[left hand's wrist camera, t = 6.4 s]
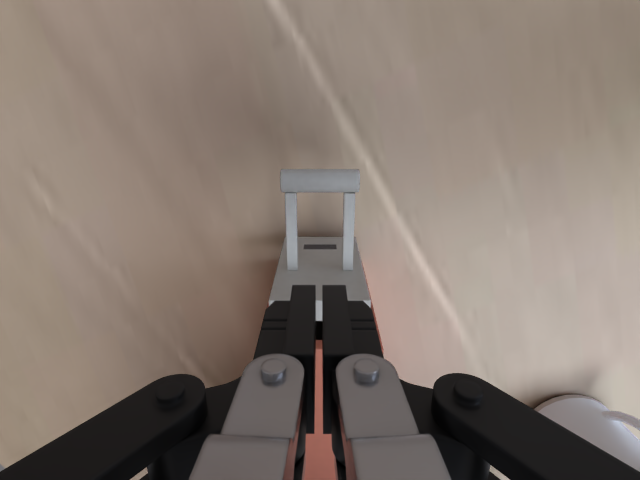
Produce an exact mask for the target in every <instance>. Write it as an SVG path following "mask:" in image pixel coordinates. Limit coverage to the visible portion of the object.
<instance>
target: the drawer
mask: <svg viewBox="0 0 640 480" xmlns="http://www.w3.org/2000/svg"><path fill="white" fill-rule="evenodd" d="M280 188H281V192H285V215H286V237H285V239H284V243H283V246H282V250H281V254H280V258H279V262H278V266H277V270H276V274H275V278H274V282H273V286H272V289H271V293H270V297H269V306H270V305H271V304H272V303H273V302H274V301H290V297H291V290H292V285H316V340H322V285H346V291H347V299H348V301H364V302H365V303H366V304H367V305H368V306H369V307H370V308H371V299H370V295H369V291H368V287H367V282H366V278H365V274H364V270H363V266H362V262H361V257H360V253H359V249H358V245H357V241H356V237H354V216H355V192H359V188H360V172H359V169H281V172H280ZM297 192H344V196H343V237H297Z"/></svg>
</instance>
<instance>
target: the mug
mask: <svg viewBox="0 0 640 480" xmlns="http://www.w3.org/2000/svg"><path fill="white" fill-rule="evenodd" d="M534 410H535V411H537V412H539V413H541V414H542V415H544V416H546V417H547V418H549V419H551V420H552V421H554V422H556V423H558V424H559V425H561V426H563V427H564V428H566V429H568V430H569V431H571V432H573V433H575V434H576V435H578V436H580V437H581V438H583V439H585V440H586V441H588V442H590V443H592V444H593V445H595V446H597V447H598V448H600V449H602V450H603V451H605V452H607V453H609V454H610V455H612V456H614V457H615V458H617V459H619V460H620V461H622V462H624V463H626V464H627V465H629V466H631V467H632V468H634V469H636V470H638V471H639V472H640V440H639V439H638V438H637V437H636V436H635V435H634V434H633V433H632V432H631V431H630V430H629V429H628V428H627V427H626V426H625V425H624V424H623V423H622V422H624V423H626V424H629V425H631V426H633V427H635V428H636V429H638V430H640V420H639V419H638V418H636V417H634V416H631V415H628V414H625V413H622V412H619V411H610V410H609V409H608V408H607V407H606V406H604V405H603V404H602V403H601V402H600V401H598V400H595V399H593V398H591V397H588V396H583V395H577V394H576V395H563V396H559V397H555V398H552V399H550V400H548V401H545V402H543V403H542V404H540V405H539V406H537V407H536V408H535V409H534Z"/></svg>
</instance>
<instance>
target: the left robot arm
mask: <svg viewBox="0 0 640 480" xmlns="http://www.w3.org/2000/svg"><path fill="white" fill-rule="evenodd" d="M315 368H316V285H292V290H291V297H290V301H274V302H273V303H272V304H271V305H270V306H269V307H268V308H267V309H266V311H265V315H264V319H263V323H262V327H261V331H260V335H259V339H258V343H257V347H256V351H255V354H254V358H253V361H251V362H250V363H249V364H248V365H247V366H246V367H245V369H244V371H243V374H242V376H241V377H239V378H238V379H236V380H234V381H232V382H229V383H227V384H223V385H219V386H215V387H210V388H206V389H205V386H204V383H203V382H202V381H201V380H200V379H199V378H197V377H195V376H192V375H187V374H175V375H170V376H166V377H163V378H160V379H158V380H156V381H154V382H152V383H151V384H149V385H147V386H145V387H144V388H142V389H140V390H139V391H137V392H135V393H134V394H132V395H130V396H128V397H127V398H125V399H123V400H122V401H120V402H118V403H116V404H115V405H113V406H111V407H110V408H108V409H106V410H105V411H103V412H101V413H99V414H98V415H96V416H94V417H93V418H91V419H89V420H88V421H86V422H84V423H82V424H81V425H79V426H77V427H76V428H74V429H72V430H71V431H69V432H67V433H65V434H64V435H62V436H60V437H59V438H57V439H55V440H54V441H52V442H50V443H48V444H47V445H45V446H43V447H42V448H40V449H38V450H37V451H35V452H33V453H31V454H30V455H28V456H26V457H25V458H23V459H21V460H19V461H18V462H16V463H14V464H13V465H11V466H9V467H8V468H6V469H4V470H2V471H1V472H0V480H130V479H131V478H132V477H134V476H135V475H136V474H138V473H139V472H140V471H142V470H143V469H144V468H146V467H147V470H148V474H146V475H145V476H144V477H142V478H141V479H140V480H304V475H305V466H306V450H305V445H306V434H314V429H315ZM322 376H323V434H331V438H332V451H333V453H334V466H335V475H336V480H500V479H499V478H498V477H496V476H495V475H494V474H492V473H491V472H490V471H489V469H490V465H492V466H493V467H494V468H496V469H497V470H498V471H500V472H501V473H502V474H504V475H505V476H506V477H508V478H509V479H510V480H640V472H639V471H638V470H636V469H634V468H632V467H631V466H629V465H627V464H626V463H624V462H622V461H620V460H619V459H617V458H615V457H614V456H612V455H610V454H609V453H607V452H605V451H603V450H602V449H600V448H598V447H597V446H595V445H593V444H592V443H590V442H588V441H586V440H585V439H583V438H581V437H580V436H578V435H576V434H575V433H573V432H571V431H569V430H568V429H566V428H564V427H563V426H561V425H559V424H558V423H556V422H554V421H552V420H551V419H549V418H547V417H546V416H544V415H542V414H541V413H539V412H537V411H535V410H534V409H532V408H530V407H529V406H527V405H525V404H523V403H522V402H520V401H518V400H517V399H515V398H513V397H512V396H510V395H508V394H506V393H505V392H503V391H501V390H500V389H498V388H496V387H495V386H493V385H491V384H489V383H488V382H486V381H484V380H482V379H480V378H478V377H475V376H472V375H468V374H462V373H452V374H447V375H444V376H442V377H440V378H439V379H437V380H436V382H435V384H434V386H433V389H430V388H426V387H422V386H417V385H414V384H410V383H407V382H405V381H403V380H401V379H399V377H398V374H397V371H396V369H395V367H394V366H393V365H392V364H391V363H390V362H389V361H387V360H386V359H384V357H383V353H382V349H381V345H380V340H379V336H378V332H377V329H376V324H375V321H374V316H373V311H372V309H371V308H370V307H369V306H368V305H367V304H366V303H365V302H364V301H348V299H347V291H346V285H322Z"/></svg>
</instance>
